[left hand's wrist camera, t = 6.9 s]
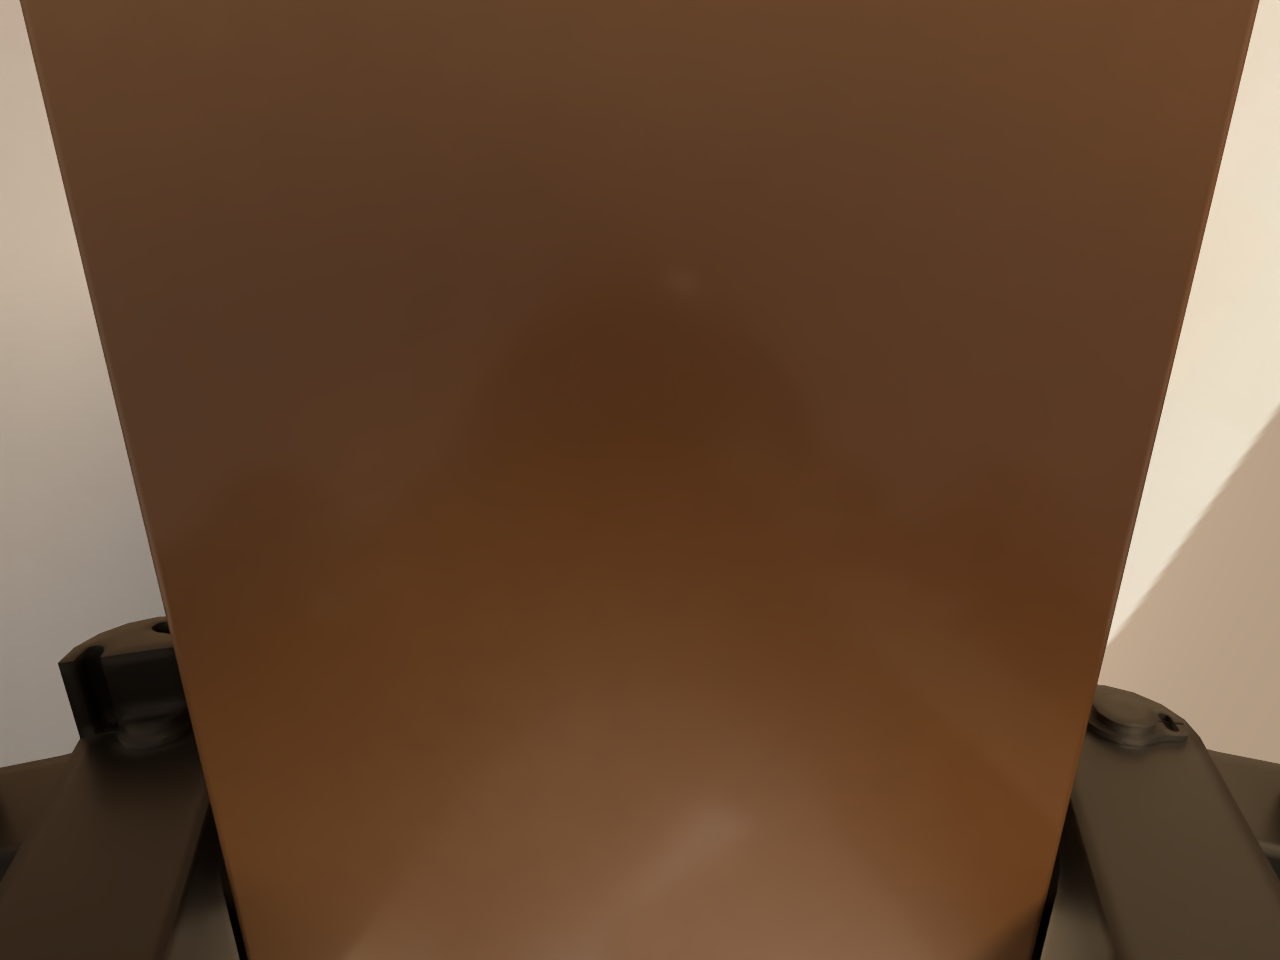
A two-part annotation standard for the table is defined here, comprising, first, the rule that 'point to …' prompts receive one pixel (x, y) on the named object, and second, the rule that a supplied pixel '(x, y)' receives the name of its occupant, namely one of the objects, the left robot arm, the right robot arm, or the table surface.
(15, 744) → the table surface
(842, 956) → the bar
